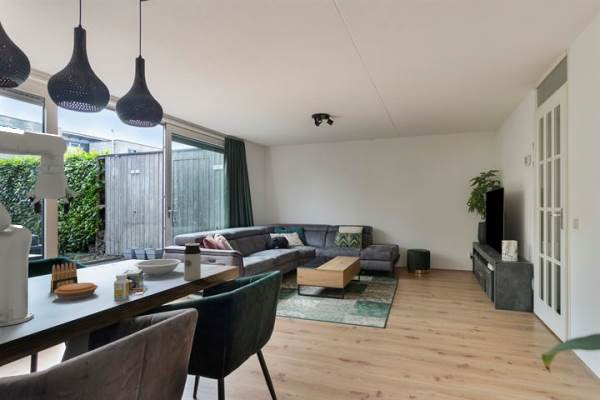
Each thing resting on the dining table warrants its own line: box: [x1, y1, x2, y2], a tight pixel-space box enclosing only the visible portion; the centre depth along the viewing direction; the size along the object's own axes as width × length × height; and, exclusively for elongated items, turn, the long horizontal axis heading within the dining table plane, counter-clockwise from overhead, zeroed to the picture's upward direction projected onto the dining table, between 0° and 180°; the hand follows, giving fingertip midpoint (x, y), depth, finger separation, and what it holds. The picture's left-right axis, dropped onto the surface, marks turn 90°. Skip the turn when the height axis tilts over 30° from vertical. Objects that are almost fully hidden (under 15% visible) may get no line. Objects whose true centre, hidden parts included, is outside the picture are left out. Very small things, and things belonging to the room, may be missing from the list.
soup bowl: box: [133, 258, 182, 276], centre depth 187 cm, size 24×24×7 cm
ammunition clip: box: [50, 261, 79, 293], centre depth 154 cm, size 11×2×12 cm, turn 153°
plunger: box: [128, 279, 144, 292], centre depth 151 cm, size 10×8×4 cm
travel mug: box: [183, 242, 202, 282], centre depth 175 cm, size 8×8×18 cm
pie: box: [53, 282, 99, 301], centre depth 142 cm, size 16×16×5 cm
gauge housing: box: [122, 269, 148, 296], centre depth 154 cm, size 21×10×7 cm, turn 14°
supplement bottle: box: [113, 273, 130, 301], centre depth 139 cm, size 5×5×10 cm
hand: (52, 213), depth 137 cm, fingers open, 9 cm apart
